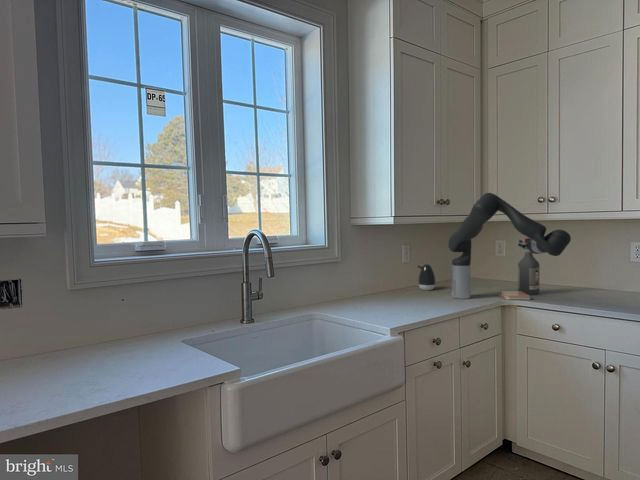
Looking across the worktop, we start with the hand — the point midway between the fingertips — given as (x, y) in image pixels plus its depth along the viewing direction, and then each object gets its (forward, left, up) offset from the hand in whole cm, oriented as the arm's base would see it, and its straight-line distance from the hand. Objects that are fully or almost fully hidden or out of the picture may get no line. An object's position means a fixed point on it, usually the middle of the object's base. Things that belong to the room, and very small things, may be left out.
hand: (525, 246), depth 206 cm
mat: (+1, +19, -28) cm, 34 cm away
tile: (+1, +12, -26) cm, 29 cm away
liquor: (+12, +32, -28) cm, 44 cm away
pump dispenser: (-41, +45, -28) cm, 67 cm away
